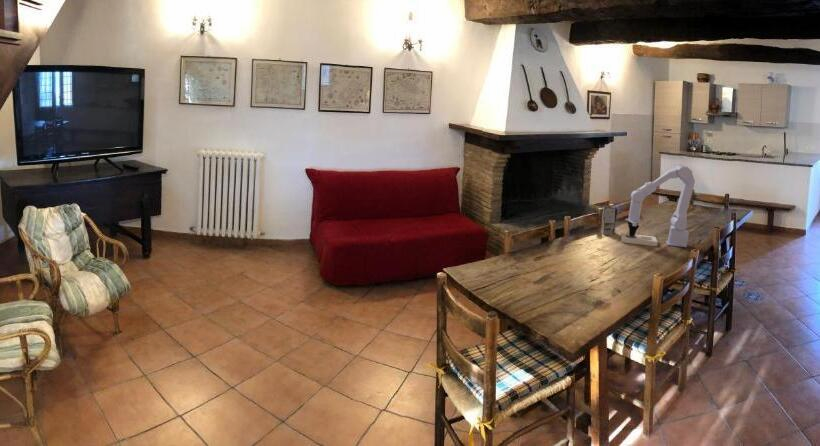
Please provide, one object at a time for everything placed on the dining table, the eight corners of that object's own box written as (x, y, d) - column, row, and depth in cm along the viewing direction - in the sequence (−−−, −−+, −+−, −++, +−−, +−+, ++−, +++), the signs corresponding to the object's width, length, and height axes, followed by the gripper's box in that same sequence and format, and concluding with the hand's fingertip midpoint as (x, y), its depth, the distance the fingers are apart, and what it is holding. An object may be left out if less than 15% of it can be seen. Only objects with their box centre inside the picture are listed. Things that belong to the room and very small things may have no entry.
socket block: (654, 240, 286) (655, 236, 286) (656, 246, 276) (657, 242, 276) (620, 237, 292) (620, 232, 291) (621, 242, 281) (622, 238, 281)
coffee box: (614, 235, 294) (618, 208, 290) (602, 234, 295) (606, 208, 291) (611, 231, 302) (615, 205, 298) (600, 230, 304) (603, 204, 299)
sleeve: (634, 237, 286) (636, 227, 284) (635, 239, 282) (636, 229, 280) (626, 236, 287) (628, 226, 286) (627, 238, 283) (628, 228, 282)
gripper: (626, 208, 289) (622, 231, 292) (628, 214, 275) (624, 238, 279) (639, 209, 286) (635, 232, 290) (642, 215, 273) (638, 239, 277)
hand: (631, 235), depth 284 cm, fingers closed on sleeve, 4 cm apart
